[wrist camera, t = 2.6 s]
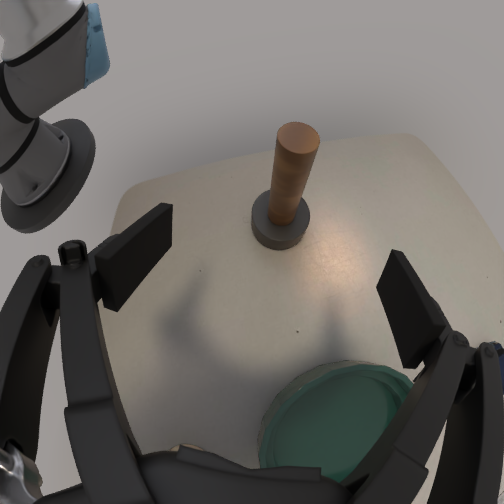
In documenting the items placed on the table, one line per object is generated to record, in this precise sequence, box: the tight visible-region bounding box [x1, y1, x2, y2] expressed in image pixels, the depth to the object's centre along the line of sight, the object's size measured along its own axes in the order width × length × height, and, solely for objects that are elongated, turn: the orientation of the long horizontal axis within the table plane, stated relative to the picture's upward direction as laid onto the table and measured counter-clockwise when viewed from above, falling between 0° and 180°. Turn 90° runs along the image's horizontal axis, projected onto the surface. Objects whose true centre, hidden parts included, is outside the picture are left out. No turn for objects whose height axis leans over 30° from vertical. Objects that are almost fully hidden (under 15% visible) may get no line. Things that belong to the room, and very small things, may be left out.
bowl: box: [258, 360, 414, 483], centre depth 22 cm, size 17×17×5 cm
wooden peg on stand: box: [252, 122, 320, 250], centre depth 24 cm, size 6×6×15 cm
